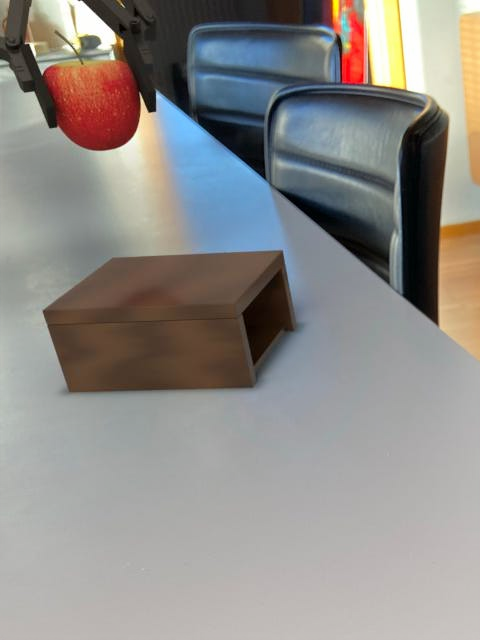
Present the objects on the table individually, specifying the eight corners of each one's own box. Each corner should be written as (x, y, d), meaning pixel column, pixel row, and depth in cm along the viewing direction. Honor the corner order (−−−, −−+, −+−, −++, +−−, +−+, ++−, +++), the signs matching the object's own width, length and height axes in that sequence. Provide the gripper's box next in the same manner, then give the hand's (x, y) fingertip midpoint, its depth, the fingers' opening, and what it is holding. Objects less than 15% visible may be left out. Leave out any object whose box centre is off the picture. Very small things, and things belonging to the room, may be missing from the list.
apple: (60, 147, 100) (25, 29, 94) (148, 135, 102) (119, 18, 96) (62, 162, 93) (25, 37, 87) (155, 149, 95) (125, 25, 89)
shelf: (69, 393, 85) (41, 310, 81) (133, 333, 96) (112, 257, 92) (253, 388, 83) (234, 303, 78) (297, 327, 94) (282, 249, 90)
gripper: (129, -76, 102) (213, 119, 100) (-97, -56, 95) (-12, 156, 93) (127, -146, 95) (216, 63, 93) (-117, -130, 88) (-26, 98, 86)
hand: (103, 109), depth 93 cm, fingers closed on apple, 8 cm apart
